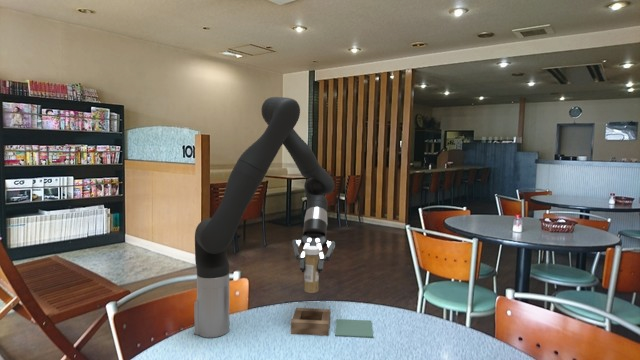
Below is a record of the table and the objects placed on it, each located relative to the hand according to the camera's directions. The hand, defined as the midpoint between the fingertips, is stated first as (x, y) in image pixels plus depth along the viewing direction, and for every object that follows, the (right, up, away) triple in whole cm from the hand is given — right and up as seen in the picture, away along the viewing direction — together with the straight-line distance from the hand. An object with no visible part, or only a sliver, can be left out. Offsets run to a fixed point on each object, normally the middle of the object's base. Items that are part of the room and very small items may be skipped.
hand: (311, 271), depth 117 cm
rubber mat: (+13, -18, +2) cm, 22 cm away
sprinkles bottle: (0, -7, +2) cm, 7 cm away
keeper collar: (0, -18, +3) cm, 18 cm away
